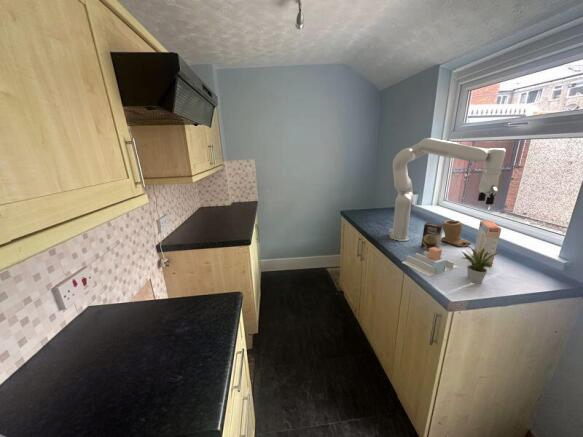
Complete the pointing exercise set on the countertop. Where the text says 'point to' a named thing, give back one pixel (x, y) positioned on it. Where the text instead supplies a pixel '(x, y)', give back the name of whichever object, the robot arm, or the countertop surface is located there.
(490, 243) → the cracker box
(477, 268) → the house plant
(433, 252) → the peach cardboard carton
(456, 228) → the tan piece
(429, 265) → the wall shelf
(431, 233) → the coffee box
